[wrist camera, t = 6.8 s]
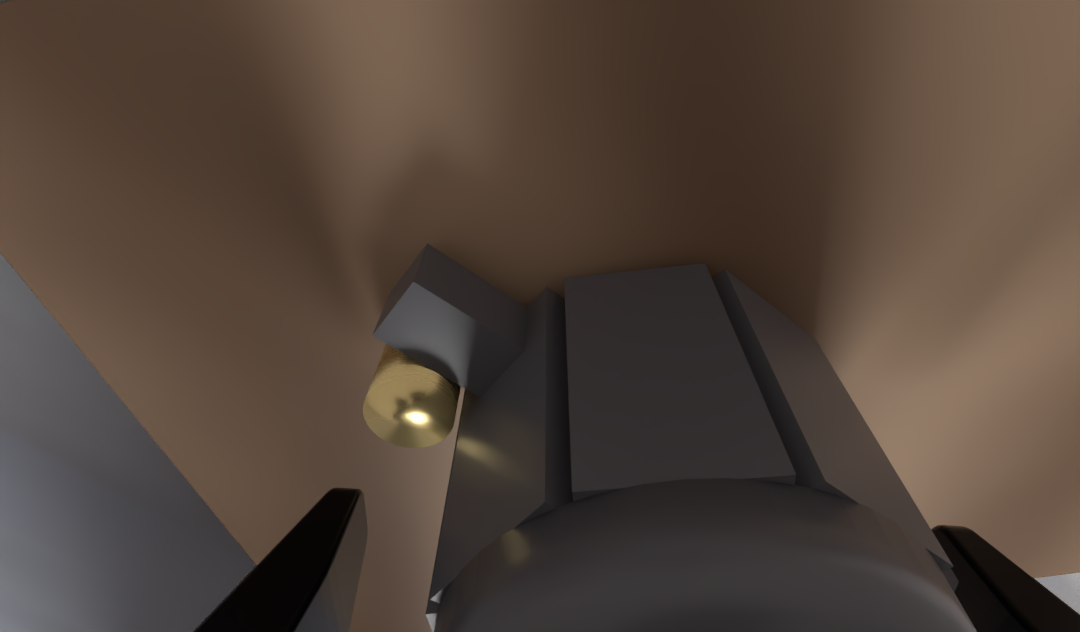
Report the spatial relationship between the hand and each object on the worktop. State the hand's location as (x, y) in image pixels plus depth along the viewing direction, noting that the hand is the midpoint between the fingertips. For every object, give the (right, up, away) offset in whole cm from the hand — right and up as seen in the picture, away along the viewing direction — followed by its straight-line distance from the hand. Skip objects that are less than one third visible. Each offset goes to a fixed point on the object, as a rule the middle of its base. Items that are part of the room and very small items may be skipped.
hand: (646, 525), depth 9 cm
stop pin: (-3, +3, +2) cm, 5 cm away
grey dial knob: (-1, +2, +1) cm, 2 cm away
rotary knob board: (+1, +3, +2) cm, 3 cm away
